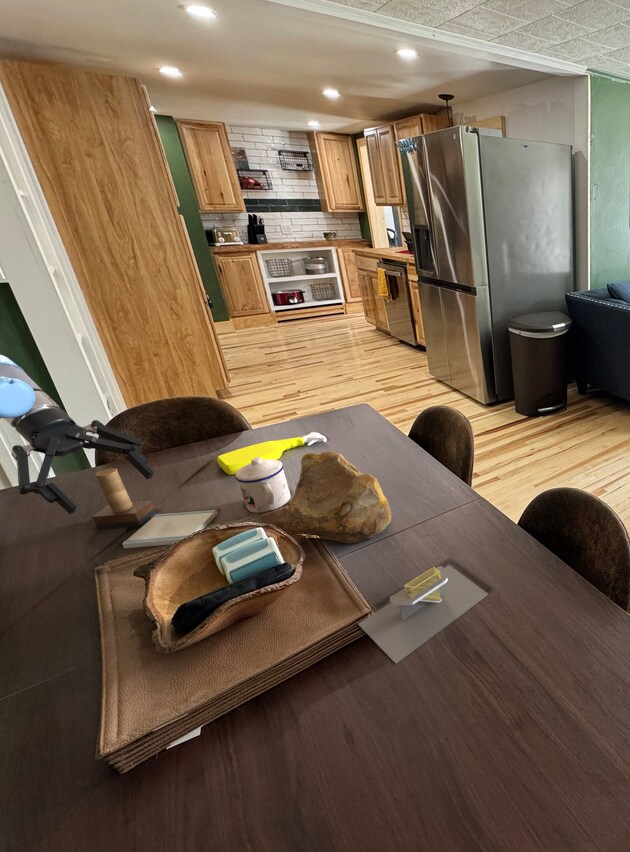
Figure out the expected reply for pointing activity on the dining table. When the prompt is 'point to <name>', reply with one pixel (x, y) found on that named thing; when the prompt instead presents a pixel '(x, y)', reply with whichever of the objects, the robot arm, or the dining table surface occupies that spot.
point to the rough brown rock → (336, 501)
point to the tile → (169, 528)
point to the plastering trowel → (421, 611)
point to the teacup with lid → (263, 485)
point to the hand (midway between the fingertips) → (114, 492)
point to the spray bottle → (263, 451)
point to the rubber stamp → (120, 504)
